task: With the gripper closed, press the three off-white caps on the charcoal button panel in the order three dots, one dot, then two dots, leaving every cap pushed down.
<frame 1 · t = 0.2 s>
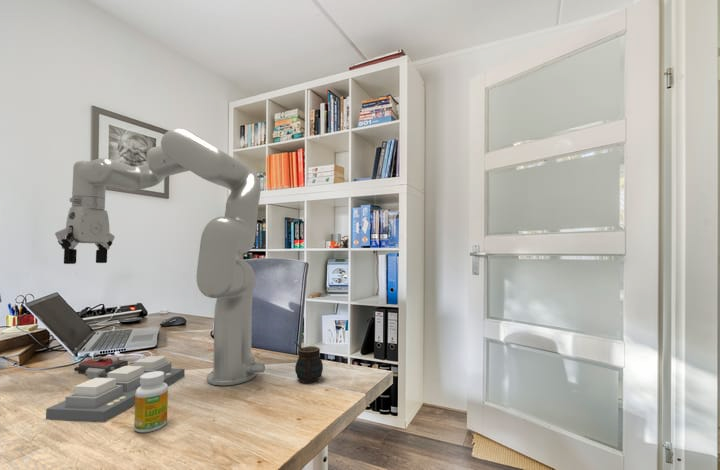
hand: (86, 263, 96), 31 cm above the table, tool pointing down, fingers open, 9 cm apart
button 3: (95, 387, 72), point 5 cm above the table, slide at 0.0 cm
button panel: (125, 394, 79), on the table
mate gourd: (308, 380, 87), on the table
walkie-talkie: (107, 375, 94), on the table
button 1: (150, 363, 87), point 5 cm above the table, slide at 0.0 cm
button 2: (125, 373, 80), point 5 cm above the table, slide at 0.0 cm
supplement bottle: (151, 427, 64), on the table
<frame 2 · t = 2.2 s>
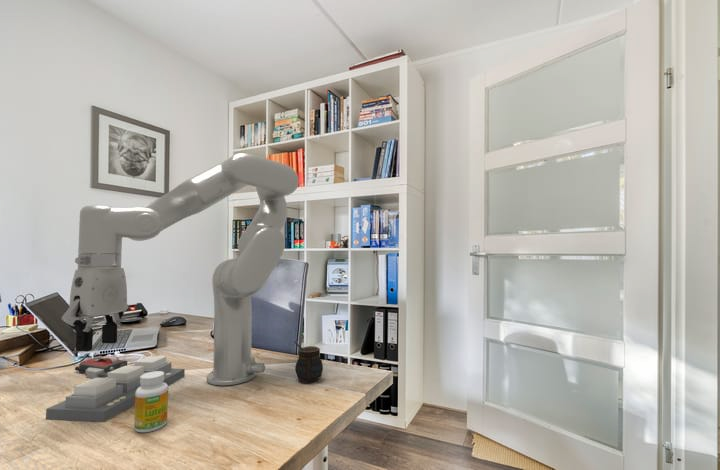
hand: (97, 345, 72), 13 cm above the table, tool pointing down, fingers open, 5 cm apart
nothing on the table moved.
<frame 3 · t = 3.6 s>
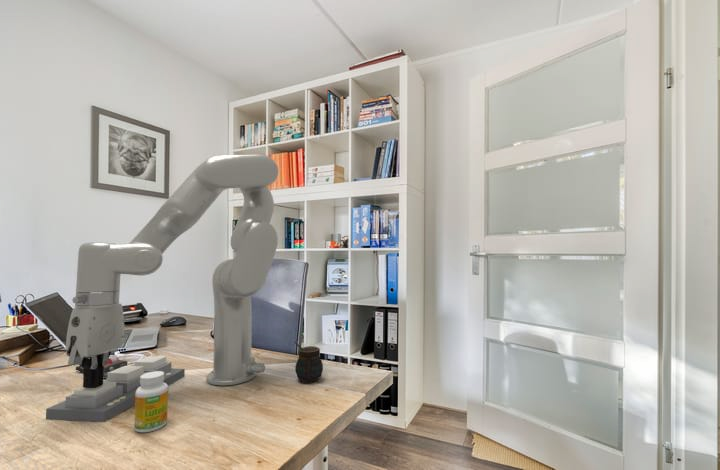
hand: (92, 386, 71), 5 cm above the table, tool pointing down, fingers closed
button 3: (95, 390, 72), point 4 cm above the table, slide at 0.8 cm, touching gripper
everything else where it was.
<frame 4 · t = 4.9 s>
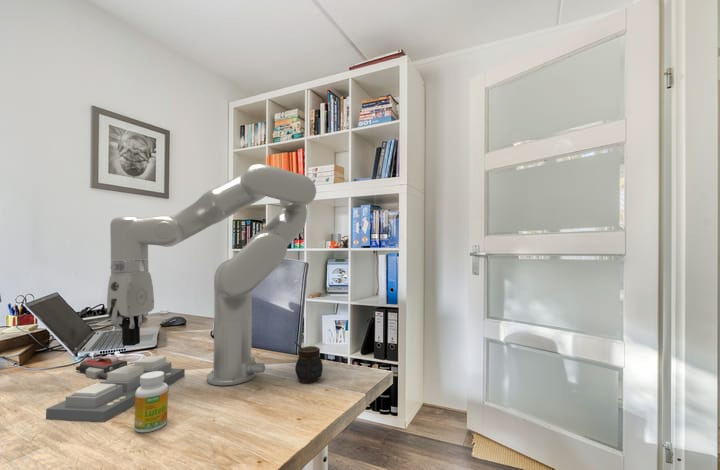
hand: (131, 344, 80), 12 cm above the table, tool pointing down, fingers closed
button 3: (95, 392, 72), point 4 cm above the table, slide at 1.2 cm
everything else where it was.
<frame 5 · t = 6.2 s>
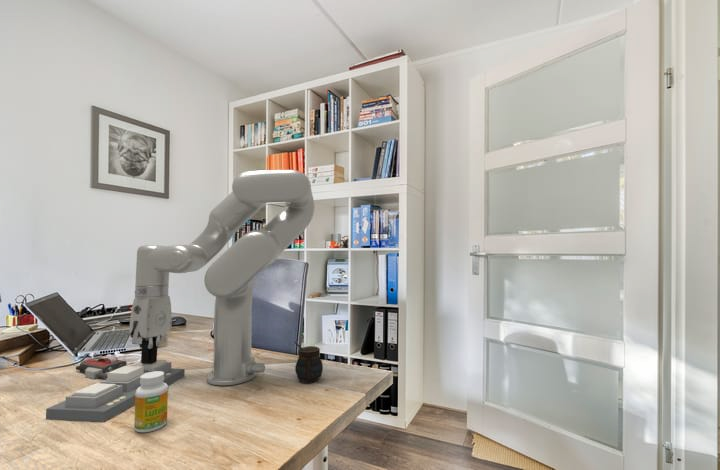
hand: (148, 362, 87), 5 cm above the table, tool pointing down, fingers closed
button 1: (150, 366, 87), point 4 cm above the table, slide at 0.9 cm
everything else where it was.
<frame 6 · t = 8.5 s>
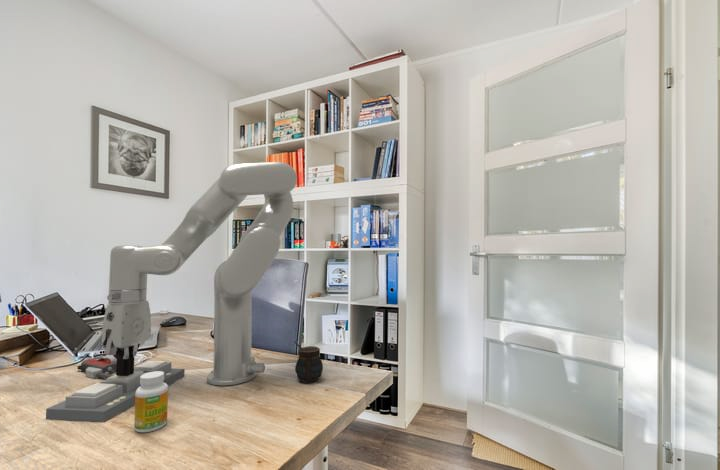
hand: (125, 374, 79), 5 cm above the table, tool pointing down, fingers closed
button 1: (150, 367, 87), point 4 cm above the table, slide at 1.2 cm
button 2: (125, 378, 79), point 4 cm above the table, slide at 1.2 cm, touching gripper
everything else where it was.
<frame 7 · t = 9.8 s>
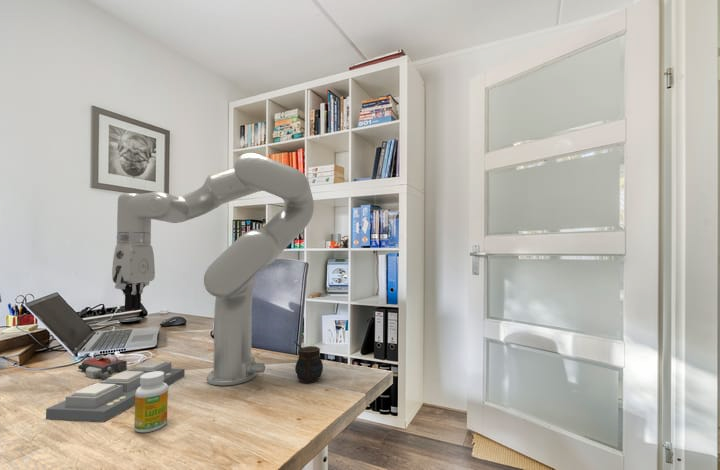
hand: (132, 309, 88), 19 cm above the table, tool pointing down, fingers closed
button 2: (125, 379, 79), point 4 cm above the table, slide at 1.2 cm
everything else where it was.
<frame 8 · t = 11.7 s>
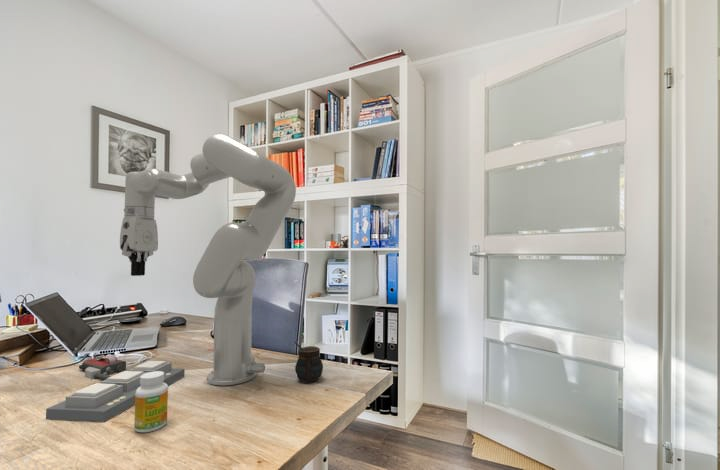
hand: (137, 275, 99), 27 cm above the table, tool pointing down, fingers closed
at the end: button 3 slide at 1.2 cm; button 1 slide at 1.2 cm; button 2 slide at 1.2 cm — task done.
